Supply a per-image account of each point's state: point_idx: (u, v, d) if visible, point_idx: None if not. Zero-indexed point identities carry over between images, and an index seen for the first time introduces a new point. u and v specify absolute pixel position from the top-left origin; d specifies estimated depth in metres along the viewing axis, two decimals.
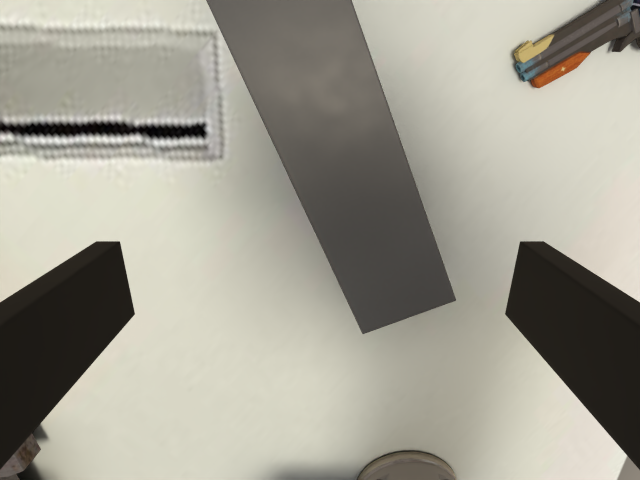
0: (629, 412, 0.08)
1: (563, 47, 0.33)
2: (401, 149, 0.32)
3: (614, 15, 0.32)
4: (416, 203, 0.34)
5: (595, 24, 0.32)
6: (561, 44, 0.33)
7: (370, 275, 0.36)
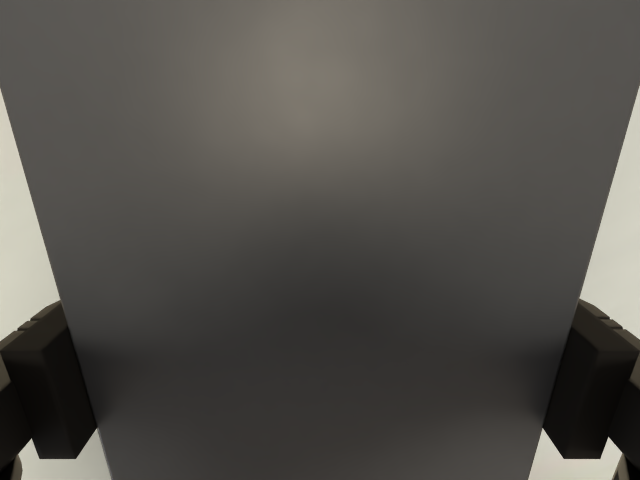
0: None
1: None
2: None
3: None
4: (616, 72, 0.06)
5: None
6: None
7: (230, 348, 0.08)
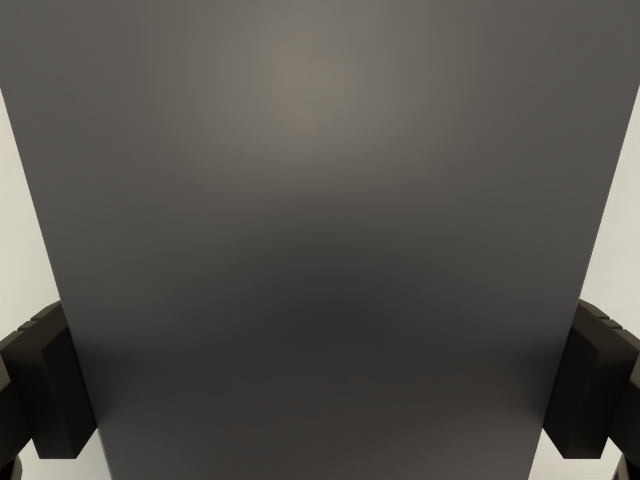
0: None
1: None
2: None
3: None
4: (616, 72, 0.06)
5: None
6: None
7: (230, 348, 0.08)
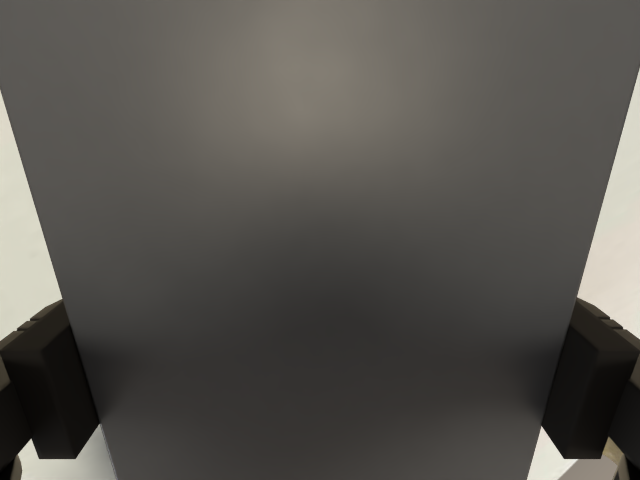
0: None
1: None
2: None
3: None
4: (615, 61, 0.06)
5: None
6: None
7: (231, 342, 0.08)
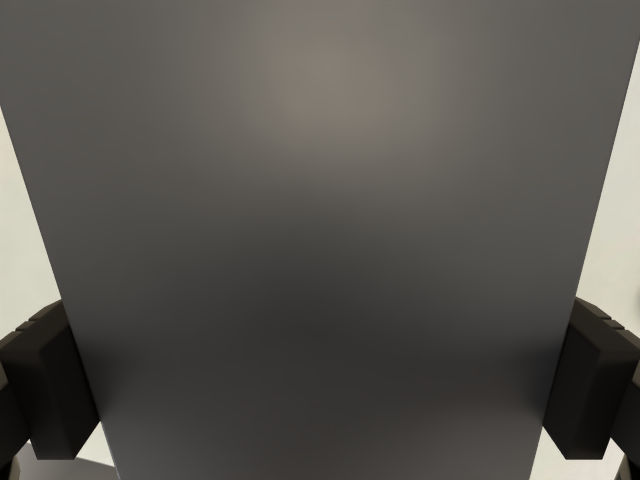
0: None
1: None
2: None
3: None
4: (610, 49, 0.06)
5: None
6: None
7: (230, 339, 0.08)
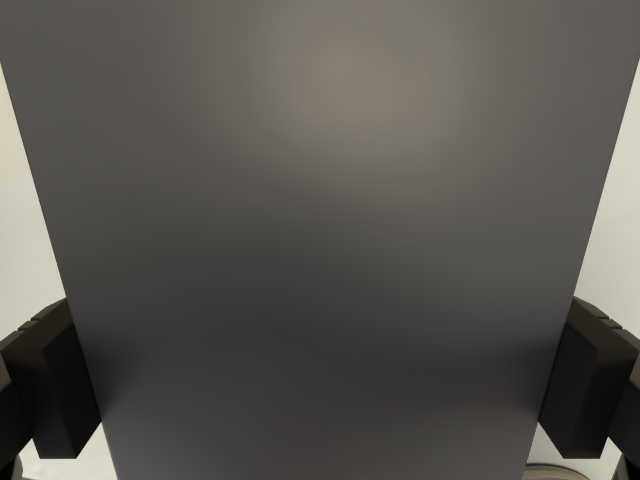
0: None
1: None
2: None
3: None
4: (613, 57, 0.06)
5: None
6: None
7: (231, 334, 0.08)
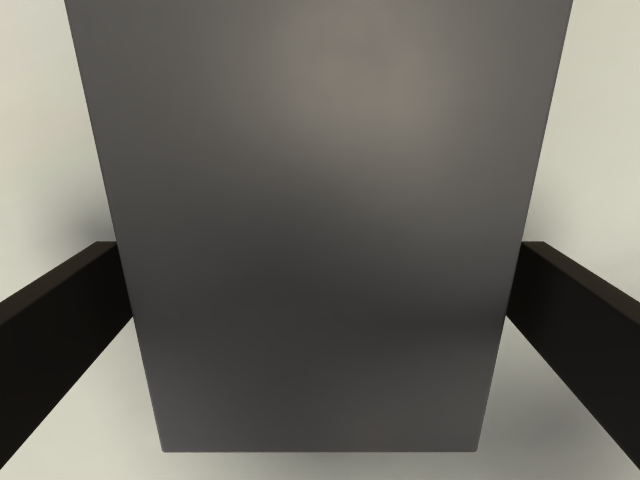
0: (629, 412, 0.08)
1: None
2: None
3: None
4: (539, 66, 0.08)
5: None
6: None
7: (248, 285, 0.10)
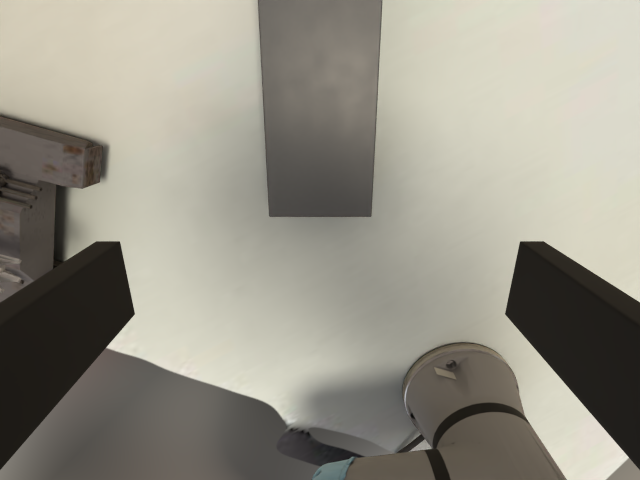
0: (629, 412, 0.08)
1: None
2: (378, 28, 0.31)
3: None
4: (372, 94, 0.32)
5: None
6: None
7: (300, 154, 0.34)
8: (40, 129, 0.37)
